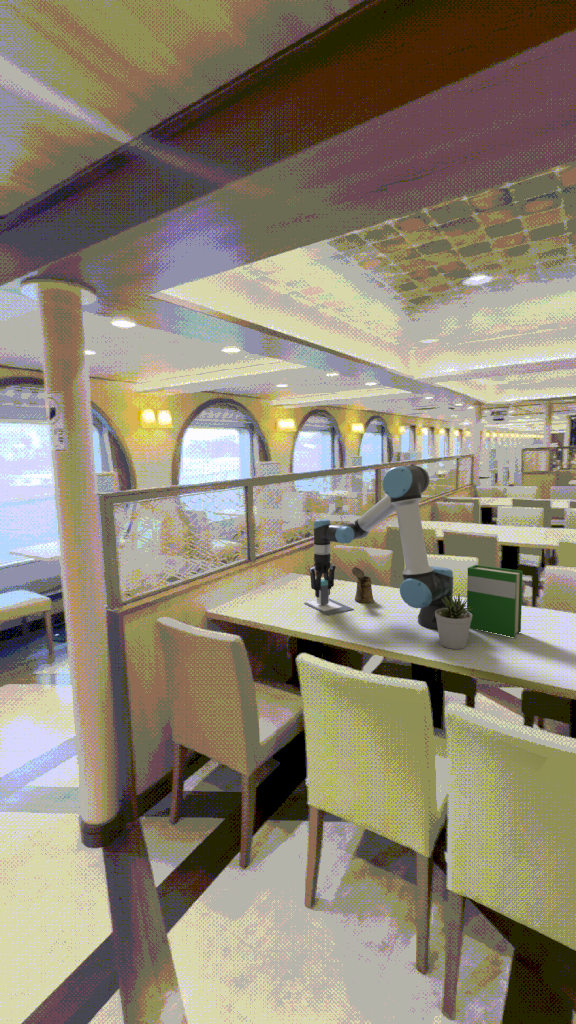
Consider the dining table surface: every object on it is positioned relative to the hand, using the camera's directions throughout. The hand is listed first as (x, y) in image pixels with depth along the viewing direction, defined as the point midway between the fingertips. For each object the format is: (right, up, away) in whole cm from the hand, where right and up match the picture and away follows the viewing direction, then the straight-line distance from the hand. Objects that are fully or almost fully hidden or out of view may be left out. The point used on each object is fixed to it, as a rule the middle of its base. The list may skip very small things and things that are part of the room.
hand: (322, 602), depth 209 cm
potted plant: (+43, -6, -47) cm, 64 cm away
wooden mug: (+19, -1, +7) cm, 20 cm away
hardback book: (+63, -4, -34) cm, 72 cm away
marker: (0, 0, 0) cm, 0 cm away
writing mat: (+2, -2, 0) cm, 3 cm away
